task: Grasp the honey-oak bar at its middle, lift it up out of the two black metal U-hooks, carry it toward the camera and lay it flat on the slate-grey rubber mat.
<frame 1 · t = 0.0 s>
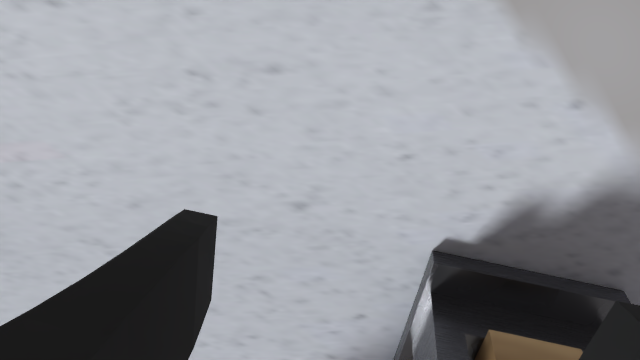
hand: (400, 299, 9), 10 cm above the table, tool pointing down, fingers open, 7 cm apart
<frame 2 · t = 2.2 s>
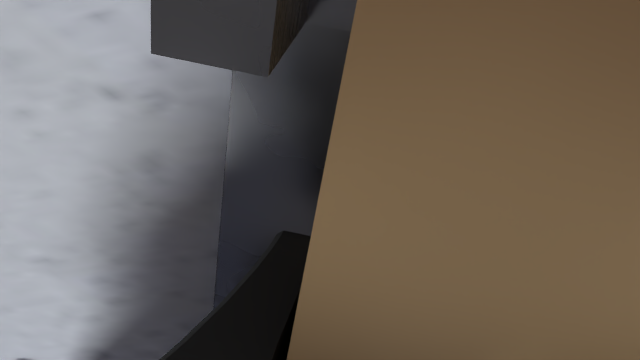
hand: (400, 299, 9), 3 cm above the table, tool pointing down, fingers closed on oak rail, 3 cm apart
oak rail: (400, 291, 9), point 3 cm above the table, touching gripper, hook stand
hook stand: (398, 210, 12), on the table
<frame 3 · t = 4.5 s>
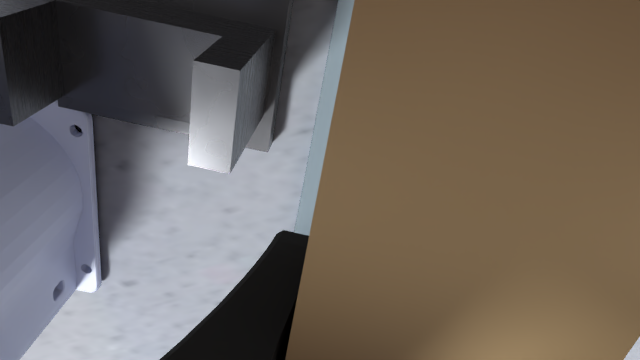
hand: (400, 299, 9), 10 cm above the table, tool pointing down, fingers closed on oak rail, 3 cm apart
mat: (433, 153, 19), on the table
oak rail: (400, 276, 10), point 10 cm above the table, touching gripper
when the fingers open (2 cm above the table, at t = 6.7 s): oak rail stays where it is, resting on mat.
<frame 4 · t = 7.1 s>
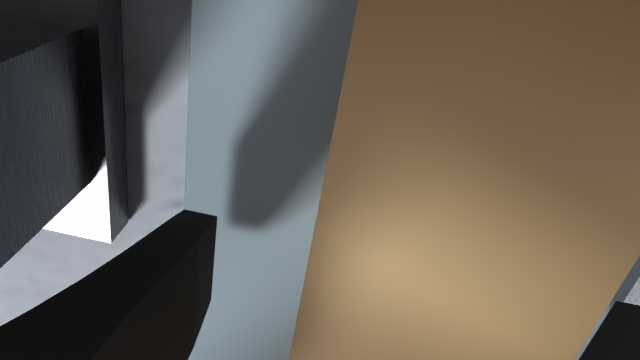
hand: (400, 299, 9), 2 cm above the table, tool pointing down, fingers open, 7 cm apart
mat: (399, 242, 11), on the table
oak rail: (401, 256, 10), point 1 cm above the table, touching mat
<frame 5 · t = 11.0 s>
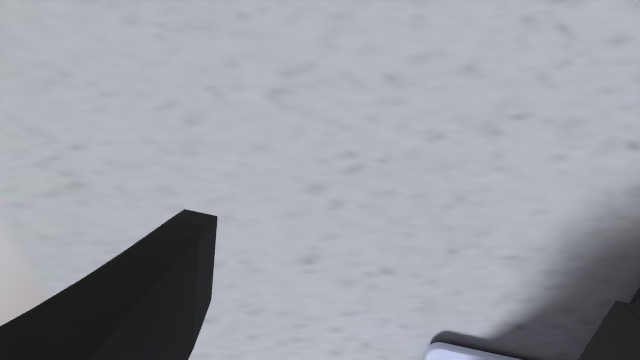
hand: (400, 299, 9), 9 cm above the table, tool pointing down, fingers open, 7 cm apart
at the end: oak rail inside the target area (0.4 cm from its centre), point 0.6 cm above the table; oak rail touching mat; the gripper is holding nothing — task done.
